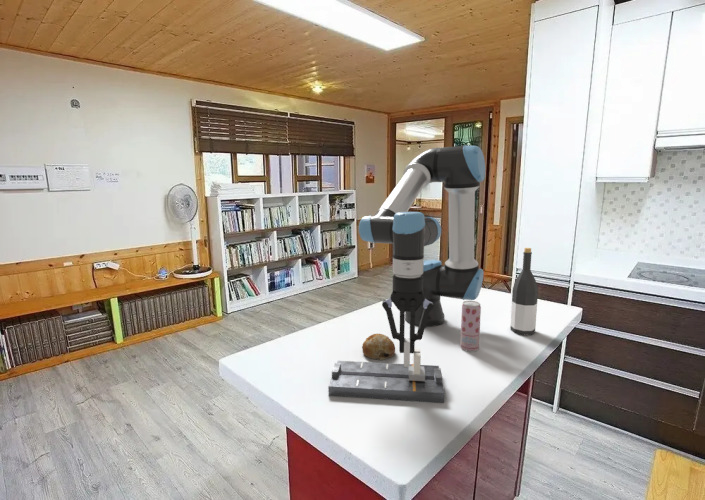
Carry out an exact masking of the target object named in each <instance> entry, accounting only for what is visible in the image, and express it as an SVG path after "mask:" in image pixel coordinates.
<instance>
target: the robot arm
mask: <svg viewBox="0 0 705 500" xmlns="http://www.w3.org/2000/svg"><path fill="white" fill-rule="evenodd" d="M485 179H486V162H485V156H484V153H483V150H482V149H481V148H480V147H479V146H477V145H467V144H465V145H459V146H458V145H457V146H446V147H445V146H443V147H433V148H430V149H427V150H425V151H423V152H421V153H420V154H418V155H417V156H416V157H414V158H413V159H411V161H410V162H409V163H408V164H407V165H406V166H405V168H404V170H403V176H402V177H401V179H399V181H398V183H397V184H396V185H395V187H394V188H393V189H392V191H391V192H390V193H389V195H388V196H387V197H386V199H385V200H384V202H383V203H382V204H381V206H380V207H379V208H378V210H377V212H376V213H375V214H374V215H368V216H367V215H365V216H363V217H362V218H361V219H360V221H359V224H358V234H359V237H360V239H361V240H362V241H364V242H367V243H373V244H390V245H392V273H393V276H392V292H391V294H390V297H388V298H387V299H383V300H382V303H381V307H383V309H384V310H385V313H386V316H387V321H388V325H389V329H390V333H391V337H392V339H394V340H397V341H398V342H399V345H398V346H399V353H400V354H403V364H404V367H410V363H411V362H410V360H411V355H410V354H414V349H416V348H415V345H416V344H415V343H416V341H421V340H422V339H423V336H424V331H425V328H426V327H435V326H439V325H443V323H444V322H445V312H444V310H443V307H442V303H441V297H443V298H444V297H446V298H451V299H459V300H463V301H475V300H477V298H478V297H479V295H480V292H481V289H482V286H483V281H484V274H485V273H484V270H483V269H482V268H479V262H478V261H477V260H476V259H475V206H476V205H475V203H476V202H475V200H476V199H475V197H476V193H475V192H476V191H477V190H478V189H479V188H480V183H481V182H483V181H484V180H485ZM432 183H443V189H444V190H445V191H446V192H447V193H448V259H447V260H446V261H445V262H444V265H443V264H442V260H437V259H429V260H427V259H426V260H424V259H425V257H424V255H425V247H427V246H430V245H432V244H434V243H436V242H437V241H438V240H439V239H440V237H441V235H442V226H441V224H440V221H438V220H437V219H436V218H434V217H433V216H425V215H424V213H423V212H419V211H409V210H410V208H411V207H412V206H413V204H414V202H415V201H416V199H417V197H419V195H420V193H421V191H422V190H423V189H425V188H427V187H428V186H429V184H432ZM393 304H394V306H395V307H396V309H397V310H398V311H399V332H398V331H397V327H396V322H395V318H394V313H393V310H392V307H393ZM405 322H407V323H409V338H407V337H406V338H405ZM416 326H418V328H417V331H416Z"/></svg>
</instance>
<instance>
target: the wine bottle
mask: <svg viewBox="0 0 705 500" xmlns="http://www.w3.org/2000/svg"><path fill="white" fill-rule="evenodd" d="M522 254H523V258H522V270H521V271H520V273H519V274H518V276H517V277H516V278H515V281H514V283H513V287H512V294H511V295H512V296H511V297H512V298H511V311H510V313H511V314H510V327H509V328H510V330H511V332H513V333H514V334H518V335H521V336H532V335H534V334H535V333H536V326H537V322H536V321H537V310H538V297H539V288H538V284H537V281H536V278H535V276H534V275H533V272H532V270H531V269H532V267H531V266H532V254H533V253H532V248H531V247H524V251H523V253H522Z"/></svg>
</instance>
